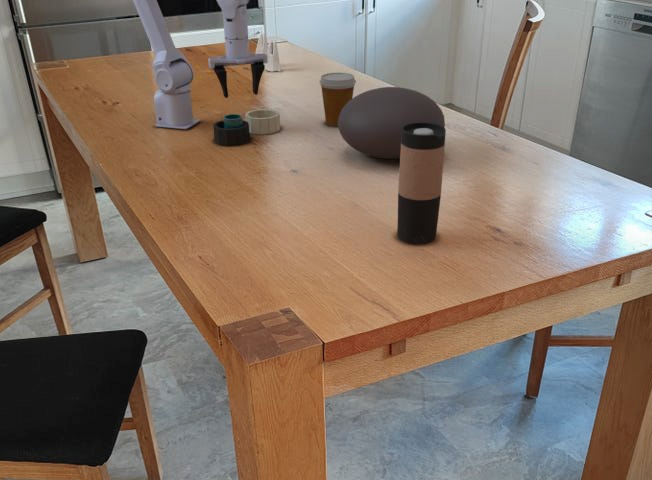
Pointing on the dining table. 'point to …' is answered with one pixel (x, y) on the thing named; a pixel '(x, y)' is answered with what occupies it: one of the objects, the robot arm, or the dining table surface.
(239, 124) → the espresso cup
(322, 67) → the dining table surface
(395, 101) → the smooth stone
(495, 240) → the dining table surface
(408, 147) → the travel mug
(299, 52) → the dining table surface
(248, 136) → the black ring
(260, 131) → the ivory ring
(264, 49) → the shaker set
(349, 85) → the disposable coffee cup
